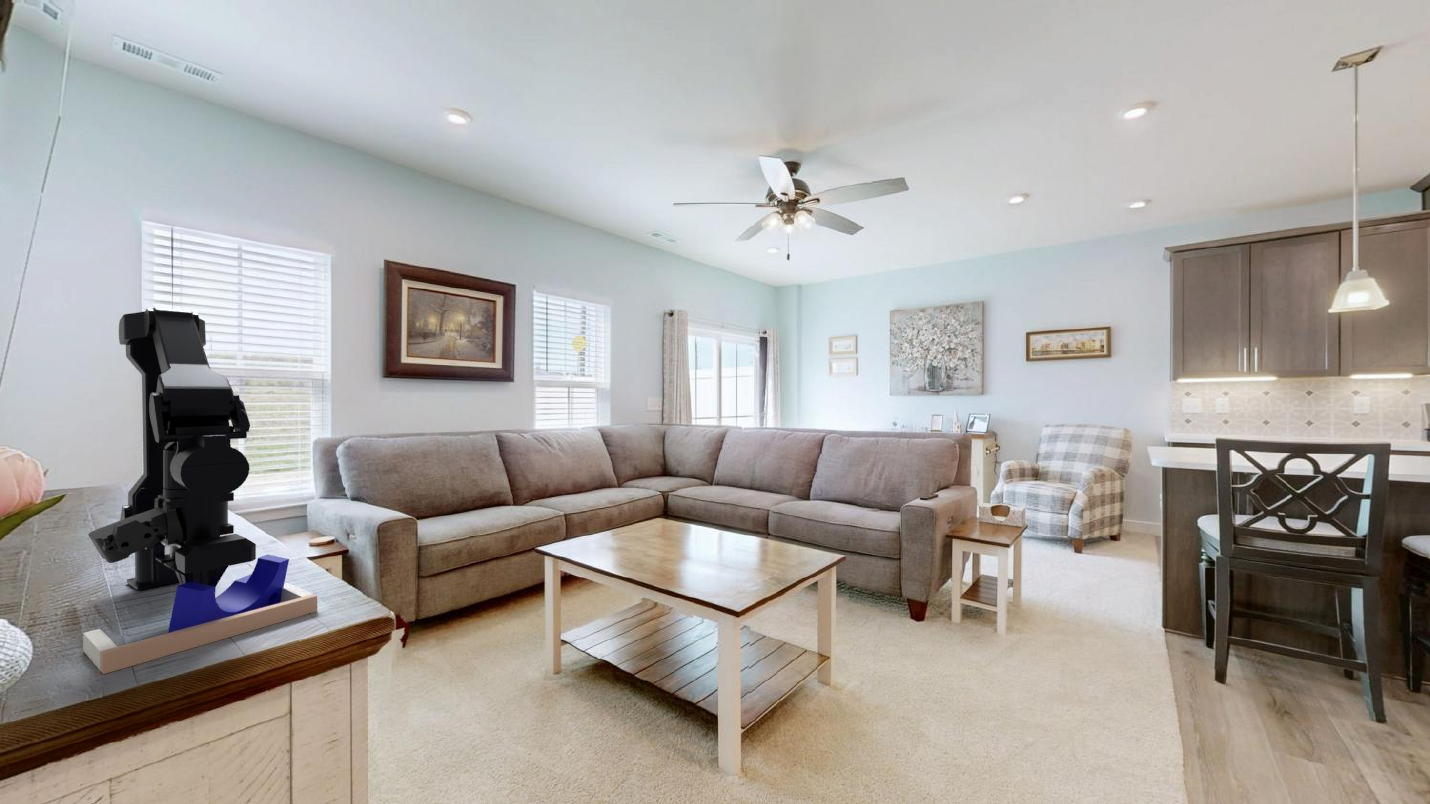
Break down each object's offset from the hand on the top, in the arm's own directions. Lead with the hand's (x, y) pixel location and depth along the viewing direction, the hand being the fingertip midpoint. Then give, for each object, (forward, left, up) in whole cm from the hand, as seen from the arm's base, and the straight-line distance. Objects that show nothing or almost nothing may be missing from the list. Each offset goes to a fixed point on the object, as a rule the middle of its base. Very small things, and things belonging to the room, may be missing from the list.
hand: (196, 611), depth 66 cm
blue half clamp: (+2, +2, -1) cm, 3 cm away
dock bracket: (+4, 0, -1) cm, 4 cm away
